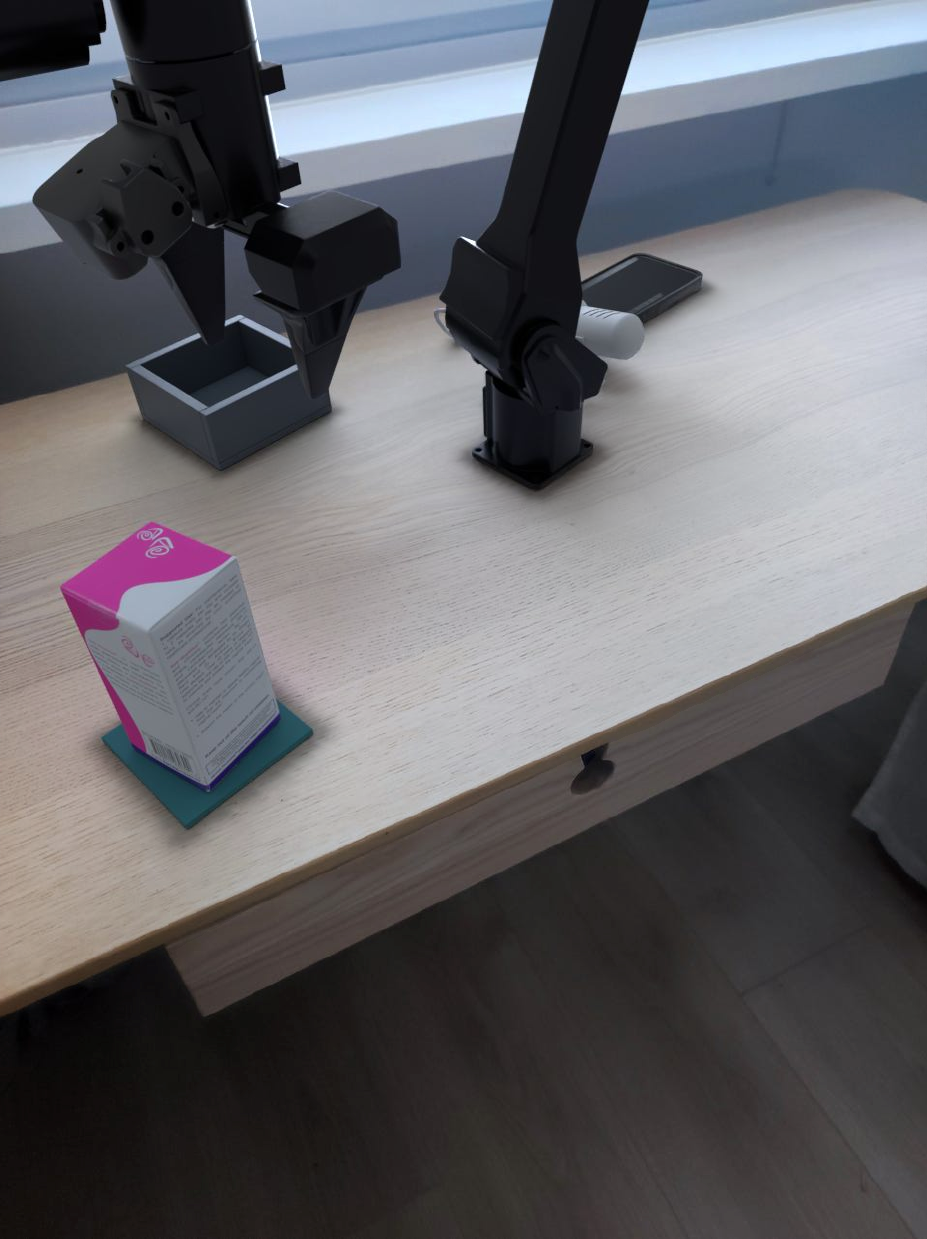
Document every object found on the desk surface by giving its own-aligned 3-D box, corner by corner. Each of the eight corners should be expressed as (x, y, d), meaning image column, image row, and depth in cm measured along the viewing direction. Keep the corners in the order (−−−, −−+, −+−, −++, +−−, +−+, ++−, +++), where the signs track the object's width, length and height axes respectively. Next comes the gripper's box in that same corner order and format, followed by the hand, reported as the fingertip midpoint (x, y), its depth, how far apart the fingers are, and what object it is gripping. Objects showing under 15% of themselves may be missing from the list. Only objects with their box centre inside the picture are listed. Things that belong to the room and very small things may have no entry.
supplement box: (286, 716, 49) (241, 555, 41) (209, 796, 45) (143, 637, 37) (207, 675, 51) (149, 515, 43) (128, 748, 48) (49, 589, 39)
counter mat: (313, 733, 48) (312, 729, 48) (187, 829, 44) (185, 825, 44) (226, 659, 52) (224, 654, 52) (103, 741, 48) (100, 736, 48)
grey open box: (332, 410, 71) (324, 356, 68) (220, 471, 66) (205, 416, 62) (251, 365, 76) (239, 314, 73) (142, 418, 71) (124, 365, 68)
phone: (534, 306, 79) (638, 250, 86) (534, 318, 80) (637, 262, 87) (605, 334, 75) (709, 273, 82) (604, 347, 76) (707, 285, 83)
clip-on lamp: (415, 386, 78) (562, 428, 66) (393, 316, 75) (545, 346, 62) (511, 327, 83) (666, 355, 70) (495, 258, 79) (656, 275, 67)
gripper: (-83, 57, 40) (49, 373, 51) (154, 139, 31) (252, 504, 42) (134, 4, 45) (210, 300, 57) (391, 60, 36) (422, 401, 47)
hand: (264, 368), depth 50 cm, fingers open, 9 cm apart
